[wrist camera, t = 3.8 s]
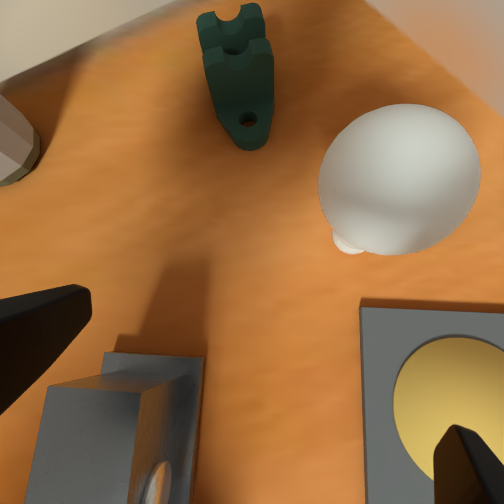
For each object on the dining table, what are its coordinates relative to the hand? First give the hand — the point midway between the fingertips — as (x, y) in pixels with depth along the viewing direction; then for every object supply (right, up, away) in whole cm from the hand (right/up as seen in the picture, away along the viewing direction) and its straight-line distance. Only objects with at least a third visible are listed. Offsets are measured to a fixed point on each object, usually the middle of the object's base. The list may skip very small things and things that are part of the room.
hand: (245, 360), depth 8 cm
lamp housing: (-6, -10, +11) cm, 16 cm away
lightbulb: (+7, +3, +14) cm, 16 cm away
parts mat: (+12, -6, +10) cm, 17 cm away
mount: (-1, +15, +18) cm, 23 cm away
